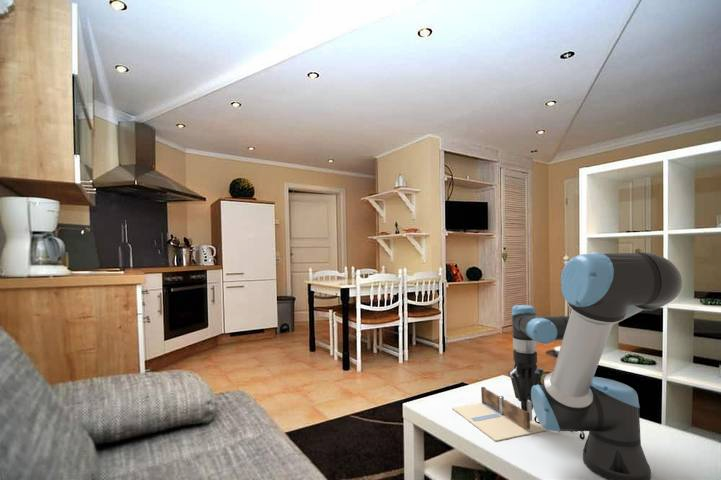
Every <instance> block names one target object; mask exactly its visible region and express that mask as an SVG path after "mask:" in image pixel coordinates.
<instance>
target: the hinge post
mask: <svg viewBox="0 0 721 480" xmlns="http://www.w3.org/2000/svg"><path fill="white" fill-rule="evenodd" d="M498 396H499V408H500V415H504V410H503V400H505V397H504V395H498Z"/></svg>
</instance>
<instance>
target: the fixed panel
mask: <svg viewBox="0 0 721 480" xmlns="http://www.w3.org/2000/svg"><path fill="white" fill-rule="evenodd" d="M480 390H481V391H480V392H481V403H483V404H484V403H487V404H488V405H490V406H491V407H493V408H495V409H496V410H498V411H500V408H499V396H500V395H498V394H496V393H494V392H492V391H491V390H489V389H487V388H486V387H485V386H481V389H480Z"/></svg>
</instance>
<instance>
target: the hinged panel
mask: <svg viewBox="0 0 721 480" xmlns="http://www.w3.org/2000/svg"><path fill="white" fill-rule="evenodd" d="M503 410H504V415H506V416H507V417H509V418H510V419H512V420H514V421H515V422H517V423H518V424H520V425H522V426H523V427H525V428H526V429H530V413H529V412H527V411H524V410H522V409H521V407H519V406H517V405H515V404H513V403H512V402H510V401H508V400H507V399H504V400H503Z"/></svg>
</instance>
